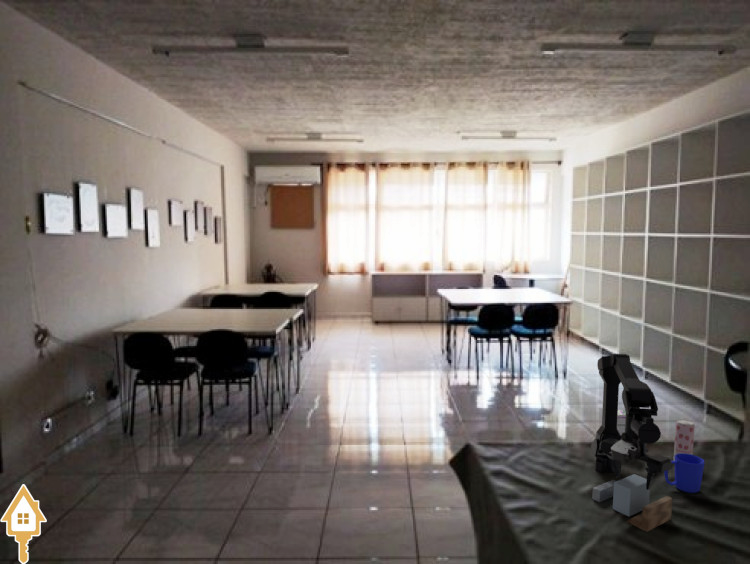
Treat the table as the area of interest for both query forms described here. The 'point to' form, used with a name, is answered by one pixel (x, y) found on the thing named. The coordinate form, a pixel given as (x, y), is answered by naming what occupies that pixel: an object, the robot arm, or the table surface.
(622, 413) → the syrup box
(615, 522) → the table surface
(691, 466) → the mug
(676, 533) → the table surface
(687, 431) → the beverage can
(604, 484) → the grey rectangular block
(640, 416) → the robot arm
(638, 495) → the blue-grey rectangular block
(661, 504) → the shelf
